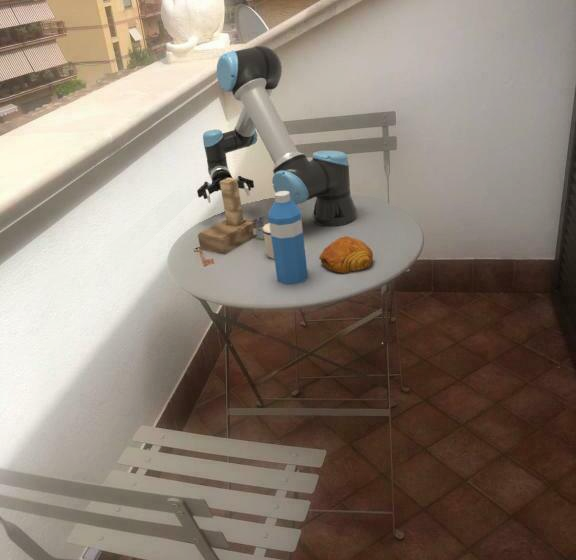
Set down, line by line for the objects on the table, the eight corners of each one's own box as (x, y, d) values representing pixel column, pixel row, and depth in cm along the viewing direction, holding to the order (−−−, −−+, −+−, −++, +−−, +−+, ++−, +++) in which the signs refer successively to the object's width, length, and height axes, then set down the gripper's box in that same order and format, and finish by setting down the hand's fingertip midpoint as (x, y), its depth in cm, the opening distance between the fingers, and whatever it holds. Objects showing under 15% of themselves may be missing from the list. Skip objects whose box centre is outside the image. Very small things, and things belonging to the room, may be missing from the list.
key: (217, 265, 178) (210, 247, 191) (217, 262, 178) (210, 244, 191) (199, 268, 177) (193, 249, 190) (198, 265, 176) (193, 247, 189)
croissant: (355, 254, 177) (352, 229, 175) (381, 266, 163) (379, 239, 161) (313, 266, 173) (309, 240, 170) (336, 279, 159) (333, 251, 156)
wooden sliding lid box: (232, 230, 200) (230, 216, 198) (256, 235, 194) (254, 220, 191) (200, 248, 189) (197, 233, 187) (224, 254, 183) (221, 238, 181)
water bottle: (284, 287, 159) (272, 202, 147) (271, 275, 166) (259, 192, 155) (314, 278, 161) (305, 193, 150) (300, 266, 169) (290, 185, 158)
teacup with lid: (297, 257, 175) (292, 221, 170) (267, 261, 175) (262, 226, 169) (291, 241, 186) (287, 208, 180) (263, 246, 185) (258, 212, 180)
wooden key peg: (237, 233, 197) (227, 177, 188) (246, 235, 195) (237, 178, 186) (229, 238, 195) (219, 181, 185) (238, 240, 192) (228, 182, 183)
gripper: (255, 182, 220) (265, 199, 201) (190, 193, 217) (194, 212, 198) (252, 163, 217) (262, 178, 198) (186, 174, 213) (190, 191, 194)
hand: (228, 195), depth 198 cm, fingers open, 13 cm apart
